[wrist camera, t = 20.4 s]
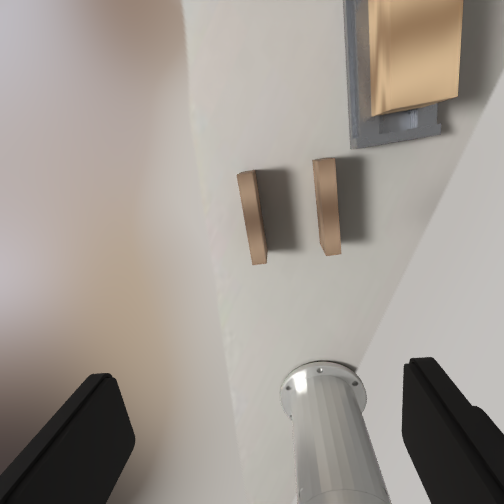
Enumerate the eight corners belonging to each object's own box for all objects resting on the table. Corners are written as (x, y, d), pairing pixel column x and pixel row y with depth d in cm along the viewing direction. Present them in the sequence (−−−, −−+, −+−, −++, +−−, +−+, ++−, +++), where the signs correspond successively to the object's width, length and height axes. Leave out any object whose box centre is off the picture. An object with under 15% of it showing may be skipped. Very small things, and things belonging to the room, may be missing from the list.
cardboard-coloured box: (425, 106, 27) (457, 96, 22) (371, 116, 27) (391, 109, 23) (429, -23, 24) (467, -67, 19) (367, -9, 24) (390, -47, 20)
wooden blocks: (333, 241, 35) (341, 254, 30) (255, 252, 36) (252, 265, 32) (326, 157, 31) (334, 158, 27) (241, 172, 33) (236, 174, 28)
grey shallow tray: (427, 135, 30) (440, 134, 27) (350, 149, 31) (356, 148, 28) (432, -42, 25) (449, -63, 23) (342, -19, 26) (349, -37, 24)
